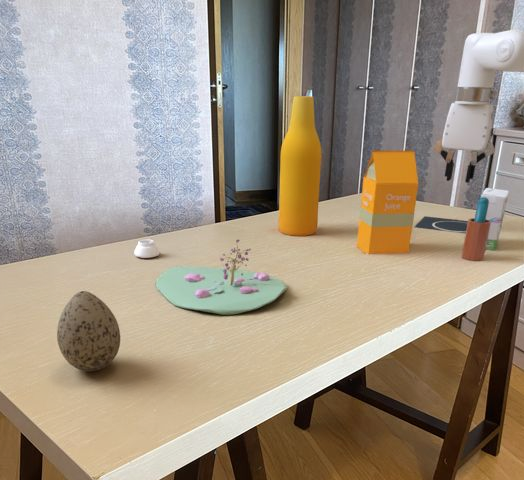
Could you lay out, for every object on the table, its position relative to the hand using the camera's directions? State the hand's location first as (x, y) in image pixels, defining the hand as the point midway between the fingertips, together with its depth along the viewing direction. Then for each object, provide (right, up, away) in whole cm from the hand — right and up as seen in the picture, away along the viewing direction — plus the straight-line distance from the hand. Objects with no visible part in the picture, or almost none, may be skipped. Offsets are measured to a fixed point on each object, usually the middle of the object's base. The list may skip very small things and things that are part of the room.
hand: (458, 180), depth 128 cm
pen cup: (-5, -23, -20) cm, 31 cm away
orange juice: (-22, -20, -15) cm, 33 cm away
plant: (-55, -31, -37) cm, 73 cm away
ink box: (+2, -18, -11) cm, 21 cm away
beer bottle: (-39, -13, -2) cm, 41 cm away
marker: (-5, -22, -21) cm, 31 cm away
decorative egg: (-68, -43, -62) cm, 102 cm away
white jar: (-71, -22, -21) cm, 77 cm away
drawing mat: (0, -11, +3) cm, 11 cm away
